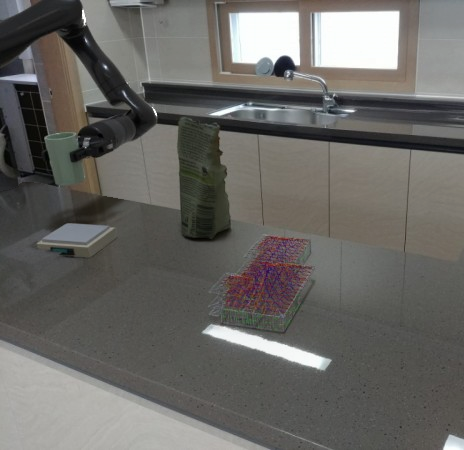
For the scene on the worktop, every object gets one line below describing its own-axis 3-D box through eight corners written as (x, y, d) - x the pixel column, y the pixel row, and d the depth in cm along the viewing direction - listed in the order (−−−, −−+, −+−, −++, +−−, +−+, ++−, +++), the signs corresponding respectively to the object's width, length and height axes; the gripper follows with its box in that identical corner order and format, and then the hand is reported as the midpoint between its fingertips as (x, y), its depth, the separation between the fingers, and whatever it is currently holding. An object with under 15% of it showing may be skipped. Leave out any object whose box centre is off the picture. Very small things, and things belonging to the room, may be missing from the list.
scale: (37, 255, 110) (33, 241, 109) (69, 234, 119) (66, 221, 118) (88, 259, 107) (85, 245, 106) (117, 237, 116) (114, 224, 115)
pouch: (188, 222, 123) (173, 113, 113) (239, 220, 122) (229, 111, 112) (175, 243, 112) (158, 124, 103) (232, 241, 112) (219, 122, 102)
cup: (49, 185, 114) (37, 139, 110) (67, 176, 120) (57, 131, 116) (74, 186, 113) (63, 139, 109) (91, 176, 118) (82, 132, 114)
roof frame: (261, 244, 110) (259, 220, 108) (332, 251, 106) (332, 226, 104) (191, 324, 84) (187, 295, 82) (282, 338, 79) (280, 308, 77)
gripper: (72, 121, 127) (23, 139, 112) (127, 121, 123) (84, 140, 108) (79, 152, 130) (32, 173, 115) (132, 153, 126) (91, 175, 111)
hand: (57, 157), depth 112 cm, fingers closed on cup, 6 cm apart
